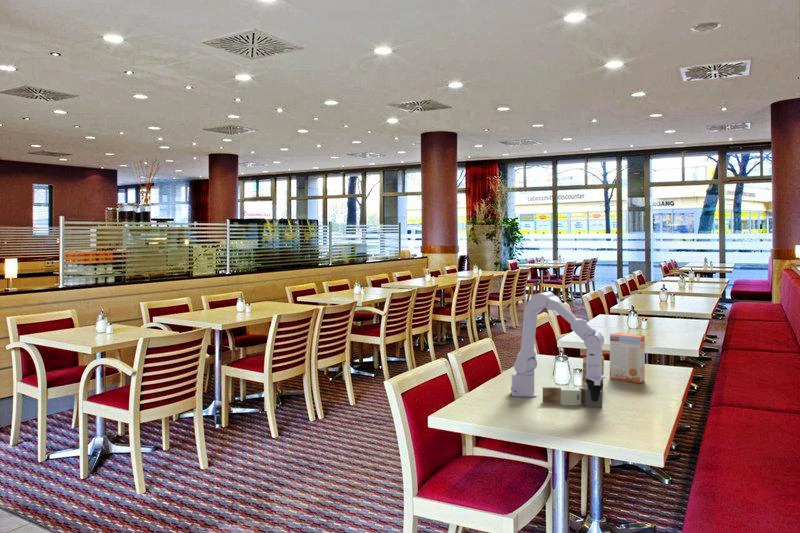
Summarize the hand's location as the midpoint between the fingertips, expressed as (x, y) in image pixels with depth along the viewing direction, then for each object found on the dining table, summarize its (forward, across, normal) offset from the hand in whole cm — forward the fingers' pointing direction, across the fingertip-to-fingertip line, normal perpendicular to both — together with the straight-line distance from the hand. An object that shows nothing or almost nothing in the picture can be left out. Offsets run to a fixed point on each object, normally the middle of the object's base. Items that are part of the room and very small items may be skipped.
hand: (593, 399), depth 234 cm
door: (+3, +1, +8) cm, 9 cm away
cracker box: (+3, +44, -22) cm, 49 cm away
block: (+3, 0, 0) cm, 3 cm away
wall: (+3, +3, +11) cm, 12 cm away
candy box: (+3, +20, -3) cm, 20 cm away
